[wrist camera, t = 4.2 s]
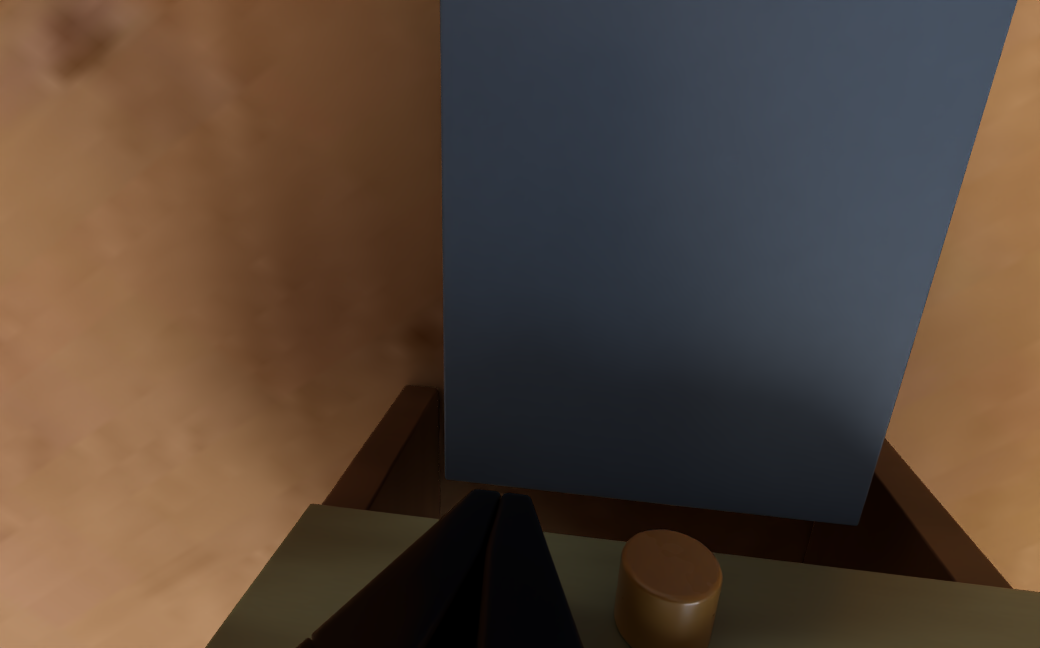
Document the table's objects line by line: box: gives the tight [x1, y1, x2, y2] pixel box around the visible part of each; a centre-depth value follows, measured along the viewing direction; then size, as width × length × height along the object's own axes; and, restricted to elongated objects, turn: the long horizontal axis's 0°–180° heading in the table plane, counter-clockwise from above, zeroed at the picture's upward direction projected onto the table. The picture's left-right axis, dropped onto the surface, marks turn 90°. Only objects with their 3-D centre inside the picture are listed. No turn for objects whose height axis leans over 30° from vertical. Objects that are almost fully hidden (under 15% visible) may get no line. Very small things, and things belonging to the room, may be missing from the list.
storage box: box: [440, 0, 1017, 526], centre depth 12 cm, size 8×12×5 cm
